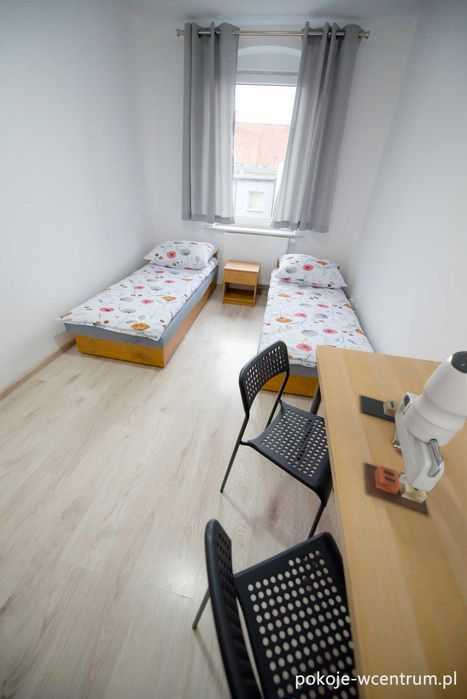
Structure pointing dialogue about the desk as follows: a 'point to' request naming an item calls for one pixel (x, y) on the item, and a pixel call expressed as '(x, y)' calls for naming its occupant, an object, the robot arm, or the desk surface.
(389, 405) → the tile
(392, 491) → the pause symbol tile
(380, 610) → the desk surface
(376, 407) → the felt mat
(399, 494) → the walnut board
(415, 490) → the tile
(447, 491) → the desk surface
